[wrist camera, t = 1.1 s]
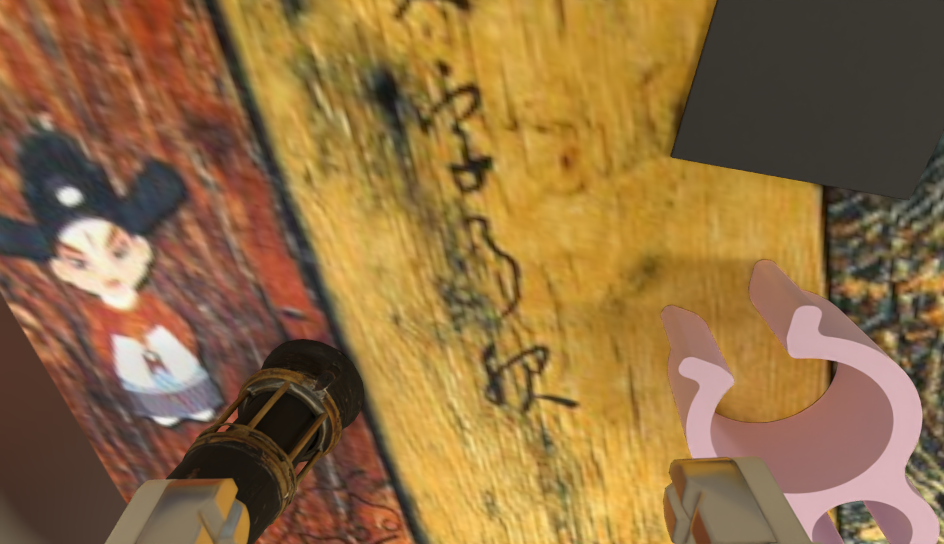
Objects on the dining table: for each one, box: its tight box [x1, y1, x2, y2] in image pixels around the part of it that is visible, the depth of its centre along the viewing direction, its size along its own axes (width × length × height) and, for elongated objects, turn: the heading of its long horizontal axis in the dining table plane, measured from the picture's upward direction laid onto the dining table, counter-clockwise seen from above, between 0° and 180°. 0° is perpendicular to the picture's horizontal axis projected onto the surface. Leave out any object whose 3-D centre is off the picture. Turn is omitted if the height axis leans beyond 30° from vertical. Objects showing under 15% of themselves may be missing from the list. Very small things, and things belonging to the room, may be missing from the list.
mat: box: [671, 0, 944, 200], centre depth 30 cm, size 14×14×1 cm
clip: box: [661, 260, 939, 544], centre depth 35 cm, size 20×12×7 cm, turn 36°
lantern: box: [165, 339, 364, 544], centre depth 32 cm, size 9×9×30 cm
